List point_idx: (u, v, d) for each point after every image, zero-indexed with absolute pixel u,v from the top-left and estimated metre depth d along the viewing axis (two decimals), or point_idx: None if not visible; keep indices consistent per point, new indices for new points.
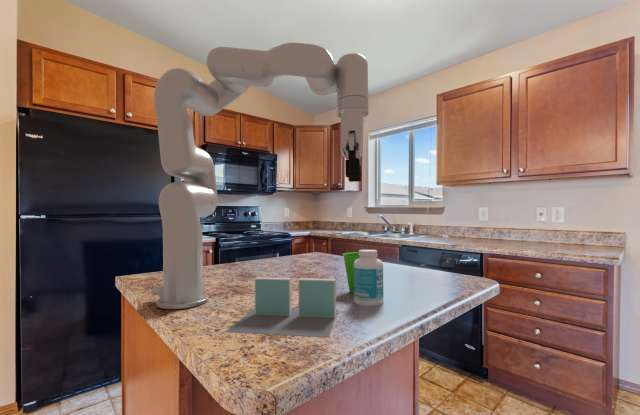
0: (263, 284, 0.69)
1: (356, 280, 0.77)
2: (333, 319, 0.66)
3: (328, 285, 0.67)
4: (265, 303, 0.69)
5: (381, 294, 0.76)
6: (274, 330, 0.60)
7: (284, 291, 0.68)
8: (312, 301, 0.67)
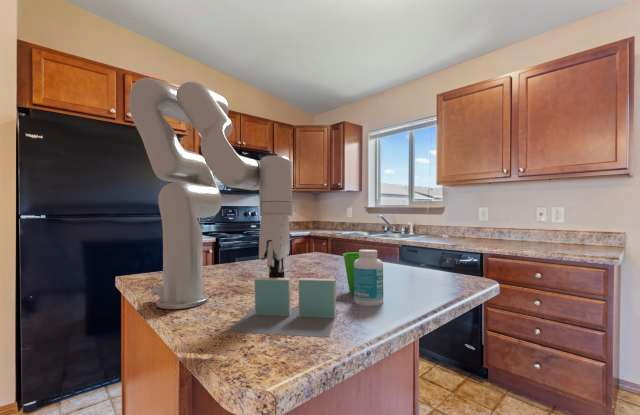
0: (263, 284, 0.69)
1: (356, 280, 0.77)
2: (333, 319, 0.66)
3: (328, 285, 0.67)
4: (265, 303, 0.69)
5: (381, 294, 0.76)
6: (274, 330, 0.60)
7: (284, 291, 0.68)
8: (312, 301, 0.67)
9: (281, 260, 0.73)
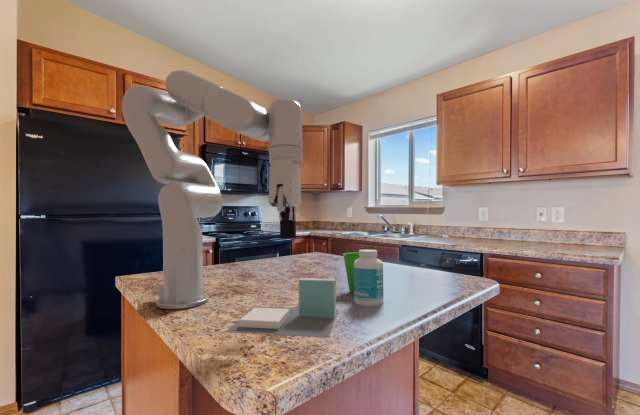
0: None
1: (356, 280, 0.77)
2: (333, 319, 0.66)
3: (328, 285, 0.67)
4: None
5: (381, 294, 0.76)
6: (274, 330, 0.60)
7: None
8: (312, 301, 0.67)
9: (292, 209, 0.71)
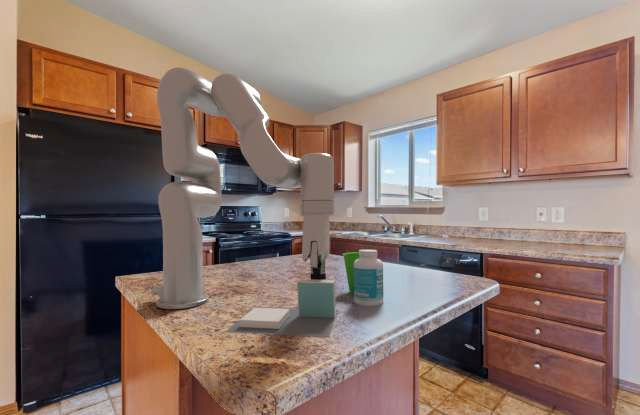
0: None
1: (356, 280, 0.77)
2: (333, 319, 0.66)
3: (327, 287, 0.65)
4: None
5: (381, 294, 0.76)
6: (274, 330, 0.60)
7: None
8: (311, 302, 0.67)
9: (322, 261, 0.70)
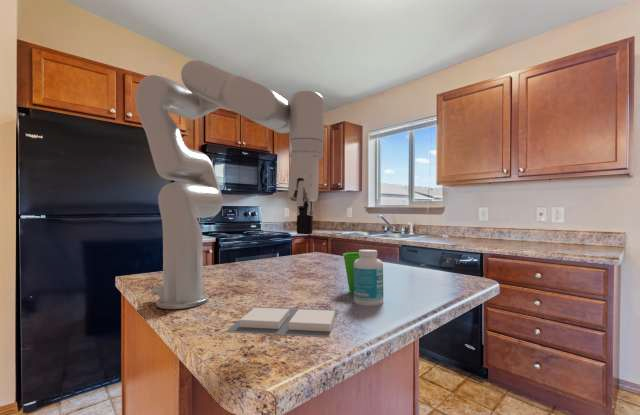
0: None
1: (356, 280, 0.77)
2: None
3: None
4: None
5: (381, 294, 0.76)
6: (274, 330, 0.60)
7: None
8: None
9: (310, 204, 0.69)
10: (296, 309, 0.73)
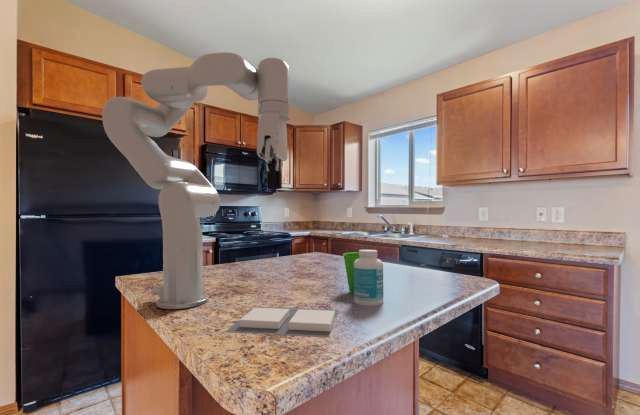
0: None
1: (356, 280, 0.77)
2: None
3: None
4: None
5: (381, 294, 0.76)
6: (274, 330, 0.60)
7: None
8: None
9: (279, 162, 0.76)
10: (296, 309, 0.73)
